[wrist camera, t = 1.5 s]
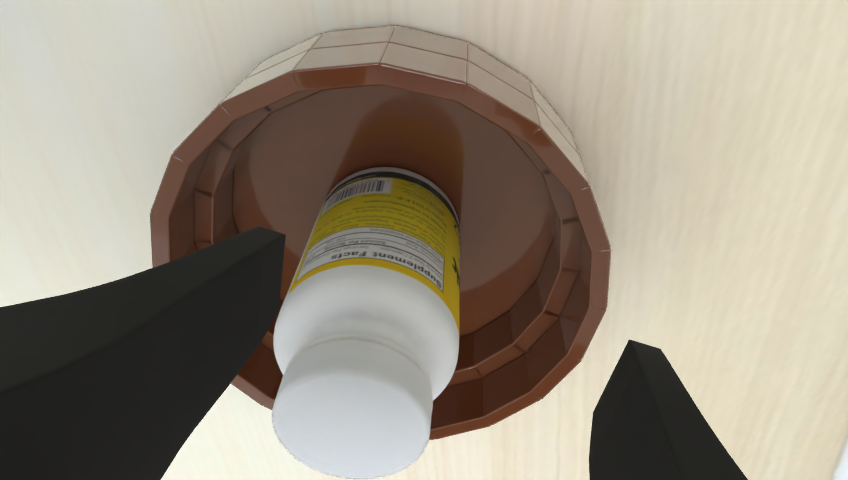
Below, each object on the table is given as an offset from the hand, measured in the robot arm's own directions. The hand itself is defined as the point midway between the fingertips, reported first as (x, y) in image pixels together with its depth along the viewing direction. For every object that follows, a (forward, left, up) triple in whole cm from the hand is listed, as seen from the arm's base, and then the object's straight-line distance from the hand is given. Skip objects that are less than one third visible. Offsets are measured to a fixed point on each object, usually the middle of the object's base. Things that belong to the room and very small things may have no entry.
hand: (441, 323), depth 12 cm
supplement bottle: (-4, +1, -10) cm, 11 cm away
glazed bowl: (-4, +1, -11) cm, 12 cm away
